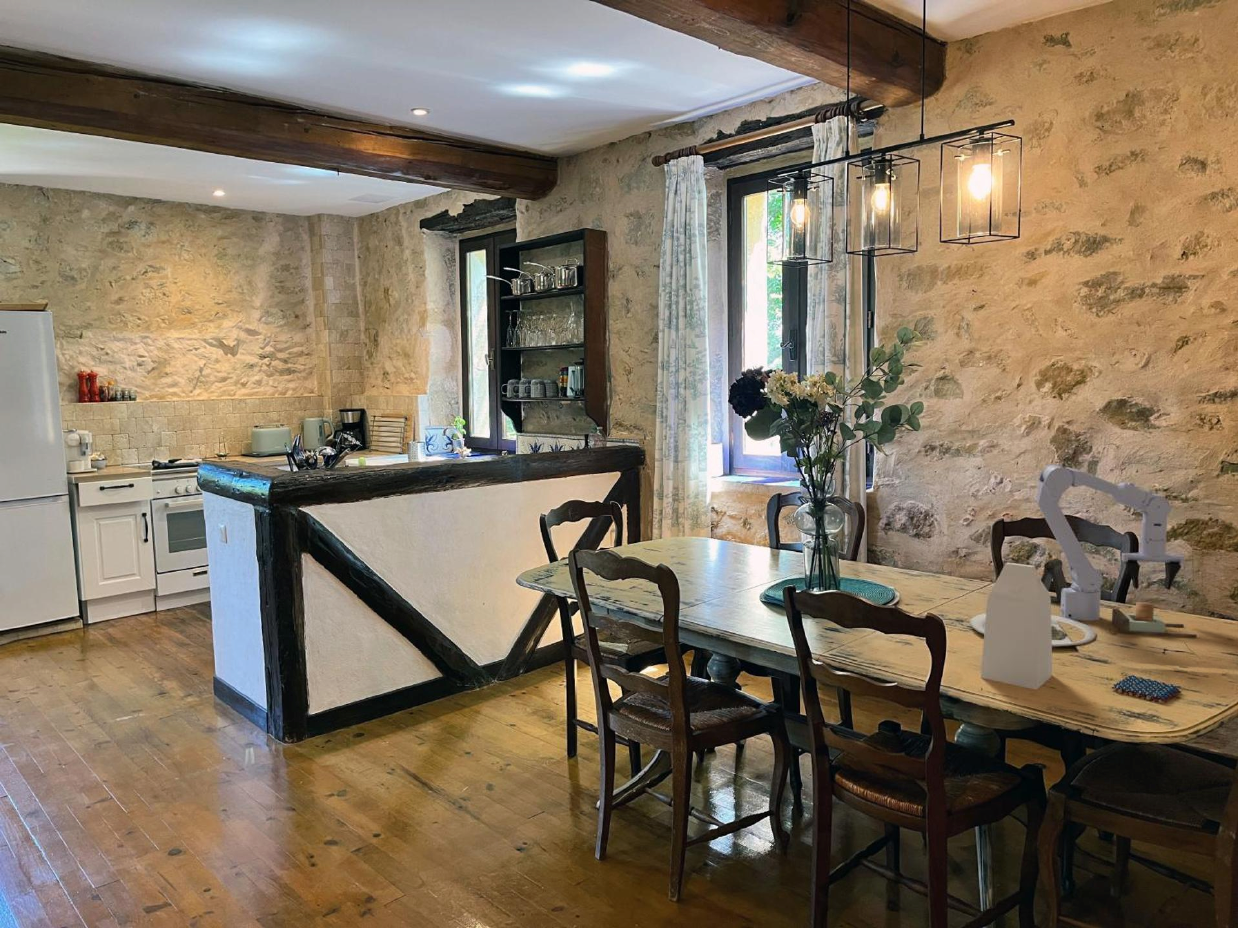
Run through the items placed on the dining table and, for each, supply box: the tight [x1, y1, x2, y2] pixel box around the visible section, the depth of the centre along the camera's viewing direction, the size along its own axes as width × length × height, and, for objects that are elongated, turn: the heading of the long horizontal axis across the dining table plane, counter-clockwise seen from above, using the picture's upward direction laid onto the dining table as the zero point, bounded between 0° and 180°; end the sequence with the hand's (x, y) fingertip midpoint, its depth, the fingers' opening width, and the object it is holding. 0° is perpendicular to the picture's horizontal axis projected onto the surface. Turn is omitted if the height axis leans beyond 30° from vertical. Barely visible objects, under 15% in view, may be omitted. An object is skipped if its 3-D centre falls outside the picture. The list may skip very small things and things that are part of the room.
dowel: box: [1134, 601, 1155, 622], centre depth 226 cm, size 4×4×7 cm
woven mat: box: [1111, 674, 1182, 704], centre depth 187 cm, size 10×11×2 cm
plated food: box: [970, 612, 1097, 648], centre depth 229 cm, size 30×30×3 cm
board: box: [1111, 608, 1197, 639], centre depth 223 cm, size 17×16×5 cm
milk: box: [980, 562, 1053, 691], centre depth 196 cm, size 12×12×26 cm
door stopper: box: [1040, 558, 1069, 605], centre depth 261 cm, size 9×6×12 cm, turn 42°
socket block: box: [1122, 612, 1166, 633], centre depth 226 cm, size 8×8×3 cm
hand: (1151, 588), depth 234 cm, fingers open, 7 cm apart
